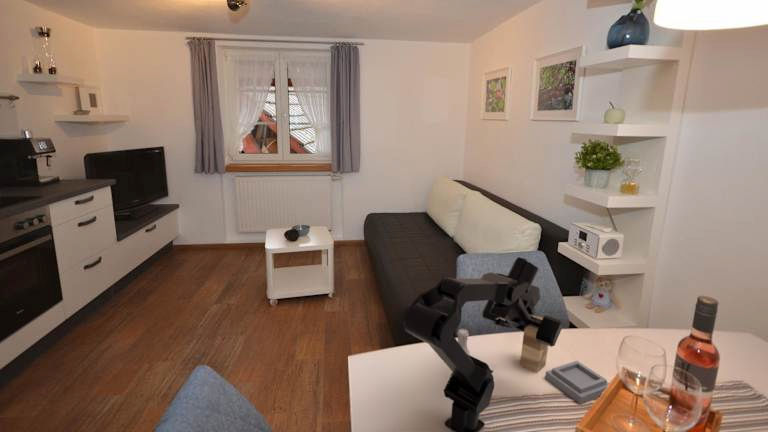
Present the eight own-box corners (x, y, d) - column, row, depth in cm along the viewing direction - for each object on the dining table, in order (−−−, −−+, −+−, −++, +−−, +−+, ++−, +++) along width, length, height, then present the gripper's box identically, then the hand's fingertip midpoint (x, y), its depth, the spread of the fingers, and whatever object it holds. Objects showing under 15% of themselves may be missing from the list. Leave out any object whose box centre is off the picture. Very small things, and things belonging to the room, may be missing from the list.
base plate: (580, 404, 101) (582, 392, 100) (545, 378, 110) (546, 367, 110) (611, 392, 105) (613, 381, 105) (574, 368, 115) (576, 357, 114)
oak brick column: (537, 372, 113) (543, 324, 109) (520, 364, 116) (525, 317, 112) (545, 365, 116) (552, 318, 113) (528, 357, 119) (534, 311, 116)
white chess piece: (469, 361, 117) (471, 336, 115) (452, 359, 118) (454, 333, 116) (469, 353, 121) (471, 327, 119) (453, 351, 122) (455, 325, 120)
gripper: (564, 290, 95) (577, 318, 106) (491, 267, 108) (509, 294, 118) (545, 334, 92) (560, 358, 102) (472, 305, 104) (491, 329, 115)
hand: (528, 332), depth 110 cm, fingers open, 9 cm apart
